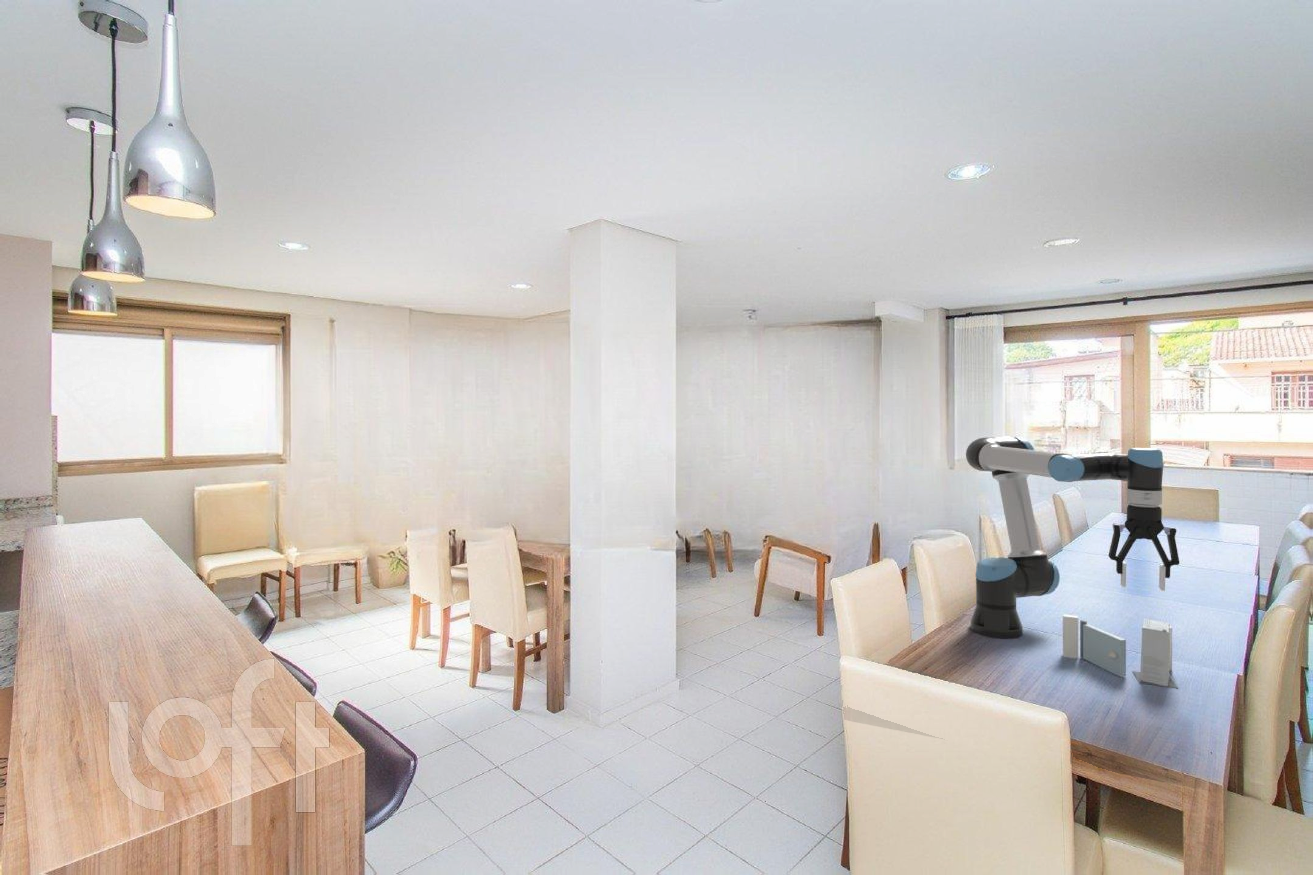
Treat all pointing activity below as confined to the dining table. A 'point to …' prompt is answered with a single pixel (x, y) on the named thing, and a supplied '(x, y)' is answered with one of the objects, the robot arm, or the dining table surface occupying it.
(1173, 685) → the mat
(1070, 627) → the wall
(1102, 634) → the door
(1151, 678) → the skincare box
